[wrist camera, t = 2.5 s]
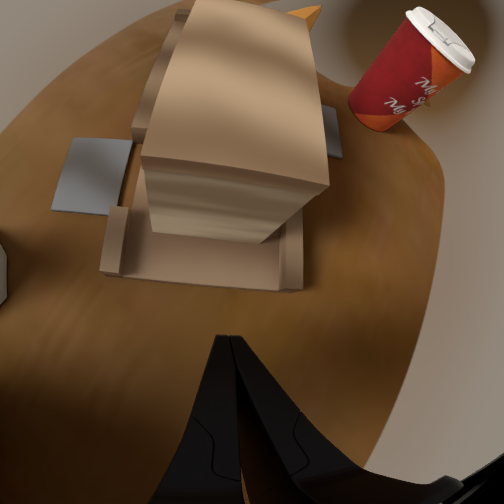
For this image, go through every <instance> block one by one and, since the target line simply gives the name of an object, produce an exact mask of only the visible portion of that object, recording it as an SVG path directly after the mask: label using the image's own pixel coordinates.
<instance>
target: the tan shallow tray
mask: <svg viewBox="0 0 504 504" xmlns="http://www.w3.org/2000/svg"><path fill="white" fill-rule="evenodd" d="M190 12H191V10H187V9H178V10H177V12H176V14H175V21H174V23H173V25H172V27H171V29H170V31H169V33H168V35H167V37H166V39H165V41H164V44H163V46H162V48H161V50H160V52H159V55H158V57H157V59H156V62H155V64H154V66H153V69H152V71H151V73H150V76H149V78H148V81H147V84H146V86H145V89H144V91H143V94H142V97H141V100H140V102H139V105H138V108H137V111H136V114H135V117H134V120H133V123H132V126H131V130H132V138H133V140H119V139H101V138H73V141H72V144H71V146H70V149H69V152H68V155H67V157H66V160H65V163H64V166H63V169H62V173H61V176H60V179H59V182H58V186H57V189H56V193H55V196H54V200H53V204H52V208H51V210H52V211H59V212H70V213H81V214H91V215H102V216H108V220H107V225H106V230H105V236H104V242H103V248H102V255H101V262H100V269H99V271H100V272H102V273H103V274H104V275H106V276H110V277H119V278H127V279H136V280H145V281H154V282H164V283H174V284H184V285H195V286H206V287H218V288H230V289H243V290H257V291H271V292H287V293H291V292H295V291H299V290H303V208H301V209H299V210H298V211H297V212H296V213H295V214H294V215H292V216H291V217H290V218H289V219H288V220H287V221H285V222H284V223H283V224H282V225H281V226H280V227H279V228H277V229H276V230H275V231H274V232H273V233H272V234H270V235H269V236H268V237H267V238H266V239H265V240H264V241H262V242H261V243H260V244H256V243H247V242H239V241H230V240H221V239H212V238H203V237H195V236H185V235H176V234H167V233H158V232H152V226H151V219H150V213H149V206H148V199H147V192H146V184H145V176H144V169H142V165H141V168H140V172H139V176H138V181H137V186H136V190H135V195H134V200H133V205H132V211H131V213H130V210H129V207H120V206H118V202H119V197H120V192H121V188H122V184H123V179H124V175H125V171H126V167H127V163H128V159H129V156H130V152H131V148H132V145H133V143H142V144H143V143H144V139H145V136H146V132H147V129H148V125H149V122H150V118H151V115H152V112H153V109H154V105H155V102H156V99H157V96H158V93H159V90H160V87H161V84H162V81H163V79H164V76H165V73H166V70H167V68H168V65H169V62H170V60H171V57H172V54H173V52H174V49H175V47H176V44H177V42H178V40H179V37H180V35H181V32H182V30H183V28H184V26H185V23H186V21H187V19H188V17H189V15H190ZM321 109H322V116H323V124H324V132H325V141H326V150H327V155H328V156H332V157H336V158H339V159H342V158H343V155H342V147H341V140H340V133H339V127H338V121H337V114H336V109H335V108H332V107H329V106H326V105H323V104H321Z"/></svg>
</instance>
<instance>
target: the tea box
mask: <svg viewBox="0 0 504 504" xmlns="http://www.w3.org/2000/svg"><path fill="white" fill-rule="evenodd" d="M140 157H141V165H142V169H144V176H145V184H146V192H147V199H148V206H149V213H150V219H151V226H152V232H158V233H167V234H176V235H185V236H195V237H203V238H212V239H221V240H230V241H239V242H247V243H256V244H260V243H261V242H262V241H264V240H265V239H266V238H267V237H268V236H269V235H270V234H272V233H273V232H274V231H275V230H276V229H277V228H279V227H280V226H281V225H282V224H283V223H284V222H285V221H287V220H288V219H289V218H290V217H291V216H292V215H294V214H295V213H296V212H297V211H298V210H299V209H301V208H302V207H303V206H304V205H305V204H306V203H307V202H309V201H310V200H311V199H312V198H313V197H314V196H316V195H317V196H318V195H319V194H321V193H322V192H323V191H324V190H325V189H326V188H328V187H329V186H330V183H329V171H328V160H327V150H326V141H325V132H324V124H323V116H322V109H321V101H320V94H319V88H318V81H317V75H316V69H315V64H314V58H313V52H312V47H311V42H310V37H309V32H308V27H307V23H306V19H304V18H301V17H298V16H294V15H291V14H288V13H284V12H281V11H277V10H274V9H270V8H266V7H262V6H258V5H253V4H249V3H244V2H239V1H234V0H196V2H195V4H194V6H193V8H192V10H191V12H190V15H189V17H188V19H187V21H186V23H185V26H184V28H183V30H182V32H181V35H180V37H179V40H178V42H177V44H176V47H175V49H174V52H173V54H172V57H171V60H170V62H169V65H168V68H167V70H166V73H165V76H164V79H163V81H162V84H161V87H160V90H159V93H158V96H157V99H156V102H155V105H154V109H153V112H152V115H151V118H150V122H149V125H148V129H147V132H146V136H145V139H144V143H143V147H142V151H141V155H140Z"/></svg>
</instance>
